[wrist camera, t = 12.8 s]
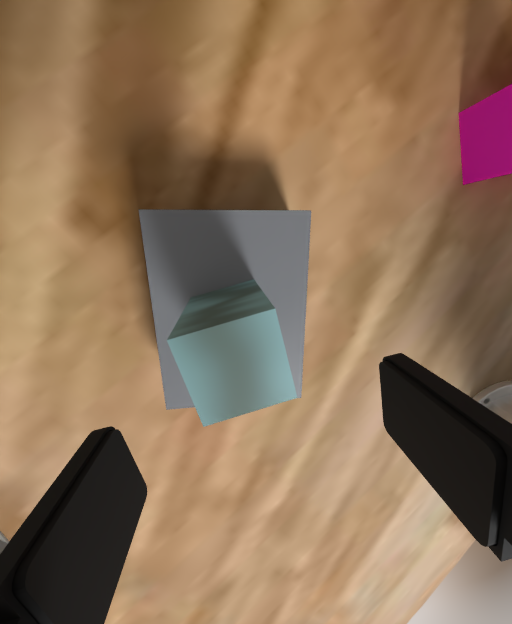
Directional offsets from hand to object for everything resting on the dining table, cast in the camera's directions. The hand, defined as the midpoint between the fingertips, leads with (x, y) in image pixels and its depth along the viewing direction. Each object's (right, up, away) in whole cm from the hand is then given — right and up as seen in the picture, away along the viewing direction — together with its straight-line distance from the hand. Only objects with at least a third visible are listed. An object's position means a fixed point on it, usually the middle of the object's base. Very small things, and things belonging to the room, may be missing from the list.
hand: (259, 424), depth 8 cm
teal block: (-2, +4, +11) cm, 11 cm away
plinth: (-3, +5, +16) cm, 17 cm away
